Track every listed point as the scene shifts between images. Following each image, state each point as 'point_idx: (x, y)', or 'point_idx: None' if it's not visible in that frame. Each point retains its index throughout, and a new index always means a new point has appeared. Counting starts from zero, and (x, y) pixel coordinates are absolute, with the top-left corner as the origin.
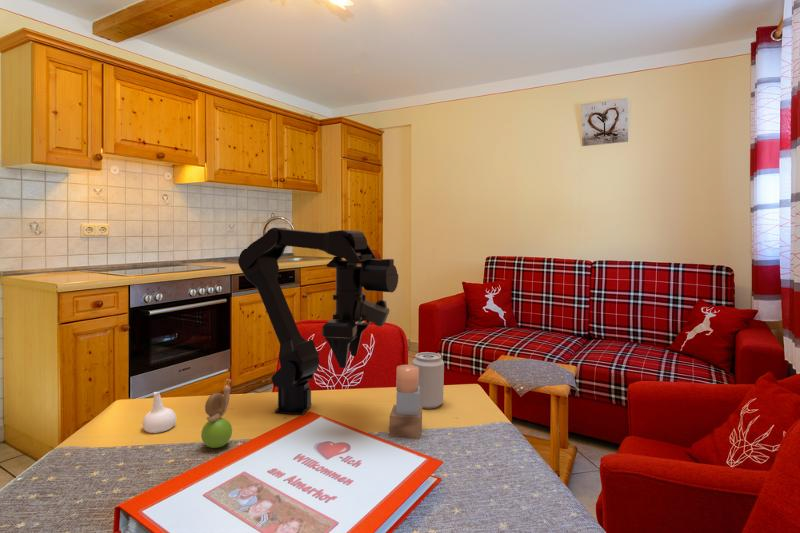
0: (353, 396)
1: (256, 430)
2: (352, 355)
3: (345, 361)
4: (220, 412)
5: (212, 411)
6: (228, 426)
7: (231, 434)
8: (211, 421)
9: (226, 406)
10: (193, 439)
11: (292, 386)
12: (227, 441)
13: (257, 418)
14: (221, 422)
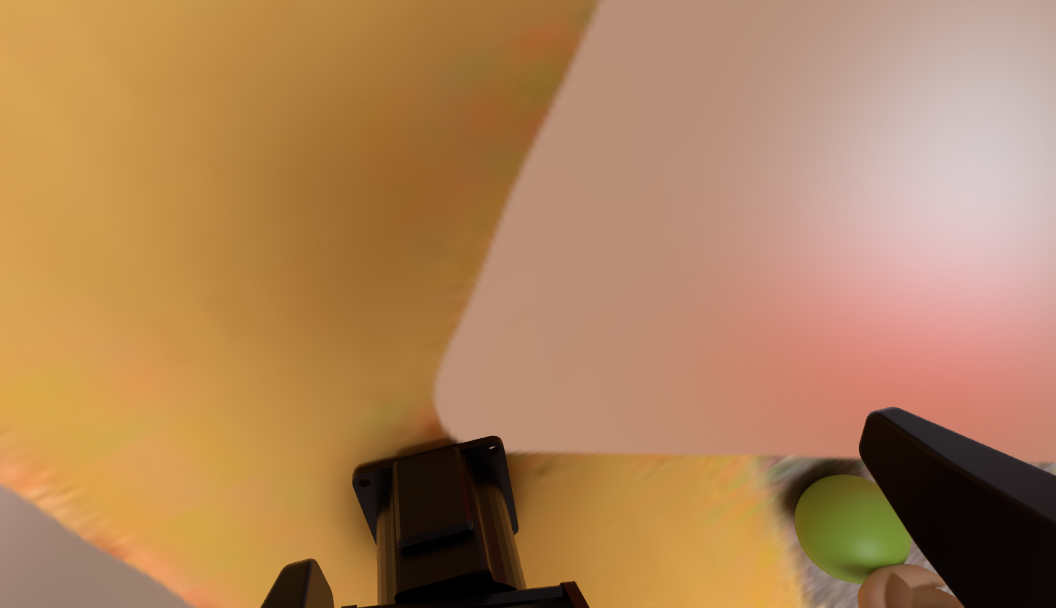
0: (57, 352)
1: (688, 475)
2: (328, 594)
3: (998, 453)
4: (909, 586)
5: (950, 600)
6: (878, 520)
7: (844, 492)
8: (919, 566)
9: (881, 605)
10: (773, 561)
11: (554, 591)
12: (846, 477)
13: (583, 536)
14: (898, 546)
